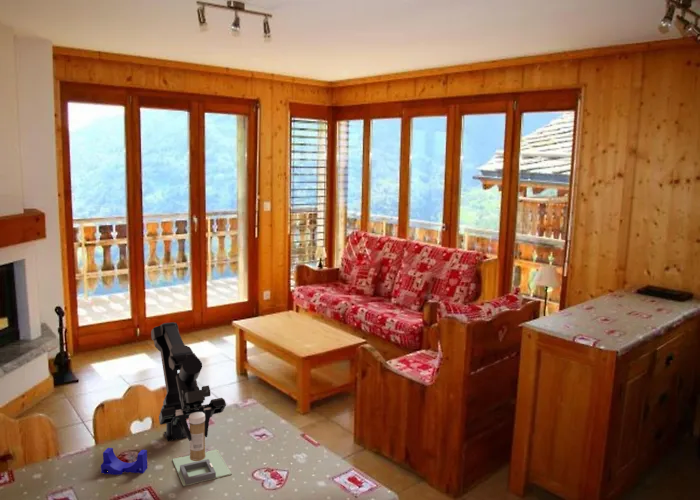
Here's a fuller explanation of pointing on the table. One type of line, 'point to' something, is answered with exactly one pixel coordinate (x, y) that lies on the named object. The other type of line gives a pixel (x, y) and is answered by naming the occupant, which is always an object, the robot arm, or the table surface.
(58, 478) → the table surface
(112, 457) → the cable clip
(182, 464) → the board
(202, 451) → the sprinkles bottle
